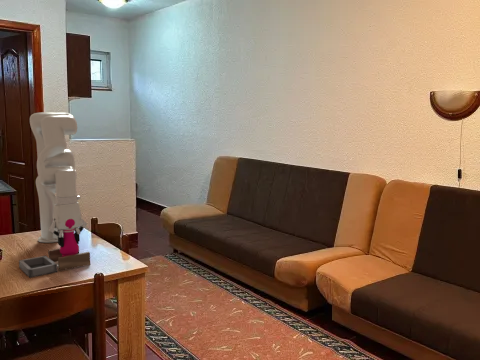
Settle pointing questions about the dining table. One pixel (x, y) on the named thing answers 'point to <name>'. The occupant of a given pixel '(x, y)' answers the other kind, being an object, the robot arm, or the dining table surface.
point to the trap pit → (37, 266)
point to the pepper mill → (69, 240)
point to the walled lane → (69, 259)
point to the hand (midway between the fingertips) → (69, 244)
